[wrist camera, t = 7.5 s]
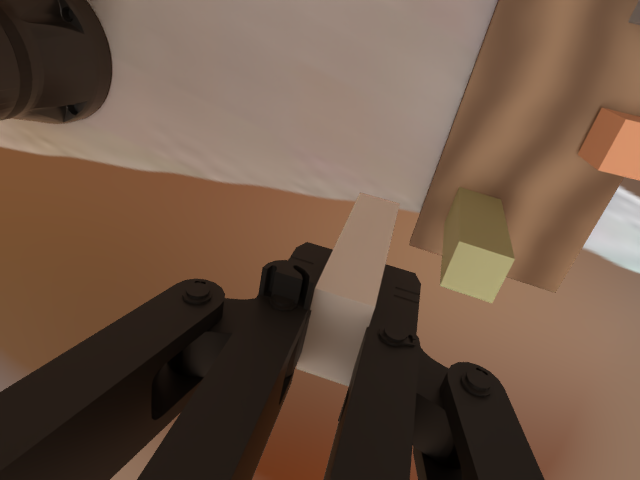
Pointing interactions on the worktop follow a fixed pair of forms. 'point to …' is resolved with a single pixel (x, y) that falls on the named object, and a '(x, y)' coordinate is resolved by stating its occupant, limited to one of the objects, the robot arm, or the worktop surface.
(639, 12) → the slate pillar
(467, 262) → the olive pillar
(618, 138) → the terracotta pillar
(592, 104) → the walnut board
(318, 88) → the worktop surface
